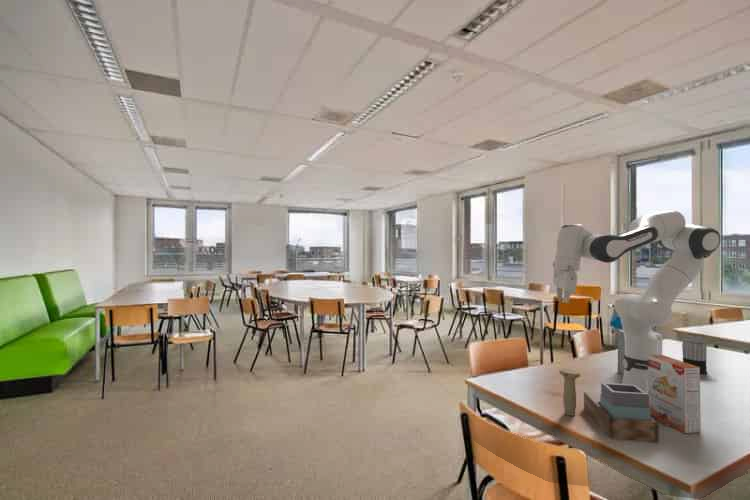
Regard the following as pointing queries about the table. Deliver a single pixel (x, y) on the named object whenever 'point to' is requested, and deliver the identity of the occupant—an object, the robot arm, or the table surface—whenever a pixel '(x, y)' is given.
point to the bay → (621, 424)
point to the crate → (625, 401)
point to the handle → (569, 390)
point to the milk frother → (695, 353)
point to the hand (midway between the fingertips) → (562, 300)
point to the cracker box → (674, 393)
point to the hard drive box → (622, 349)
